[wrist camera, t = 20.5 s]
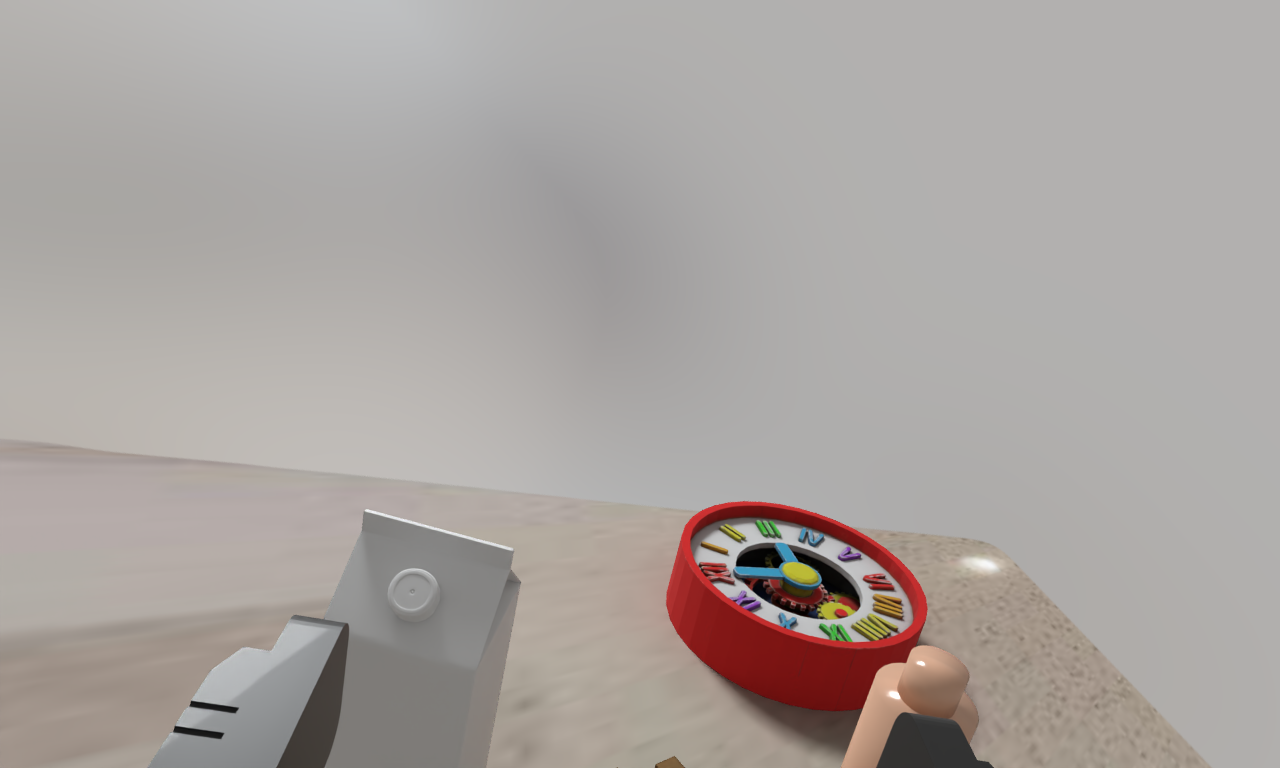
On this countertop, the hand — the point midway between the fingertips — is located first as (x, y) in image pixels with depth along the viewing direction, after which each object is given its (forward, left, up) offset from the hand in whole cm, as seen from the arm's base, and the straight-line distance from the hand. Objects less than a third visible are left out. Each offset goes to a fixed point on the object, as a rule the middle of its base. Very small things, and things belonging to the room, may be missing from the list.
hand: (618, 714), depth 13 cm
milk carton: (-23, +10, -32) cm, 41 cm away
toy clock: (-28, +45, -32) cm, 63 cm away
